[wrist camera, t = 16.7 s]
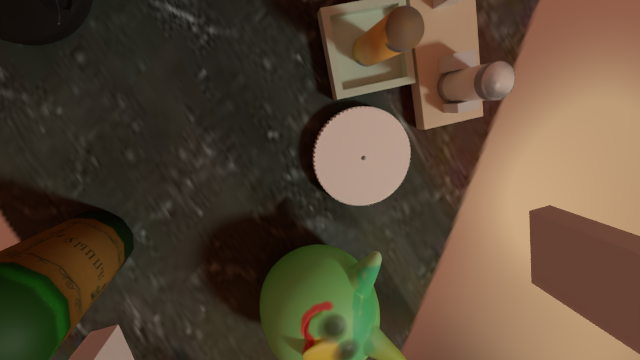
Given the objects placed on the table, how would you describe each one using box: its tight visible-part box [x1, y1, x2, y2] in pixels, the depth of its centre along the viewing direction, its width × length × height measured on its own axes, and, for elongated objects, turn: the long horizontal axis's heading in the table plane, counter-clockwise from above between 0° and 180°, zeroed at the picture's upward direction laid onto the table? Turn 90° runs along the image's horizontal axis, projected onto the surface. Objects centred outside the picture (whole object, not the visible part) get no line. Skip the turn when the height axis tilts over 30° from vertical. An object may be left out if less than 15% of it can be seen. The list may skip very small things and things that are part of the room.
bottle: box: [0, 211, 134, 360], centre depth 28 cm, size 11×11×28 cm
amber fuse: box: [352, 5, 425, 67], centre depth 35 cm, size 4×4×12 cm
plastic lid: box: [312, 106, 411, 206], centre depth 44 cm, size 14×14×2 cm
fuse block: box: [406, 0, 515, 130], centre depth 37 cm, size 24×9×12 cm, turn 12°
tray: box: [317, 0, 416, 100], centre depth 40 cm, size 11×11×2 cm
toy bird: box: [260, 244, 406, 360], centre depth 41 cm, size 18×17×15 cm
